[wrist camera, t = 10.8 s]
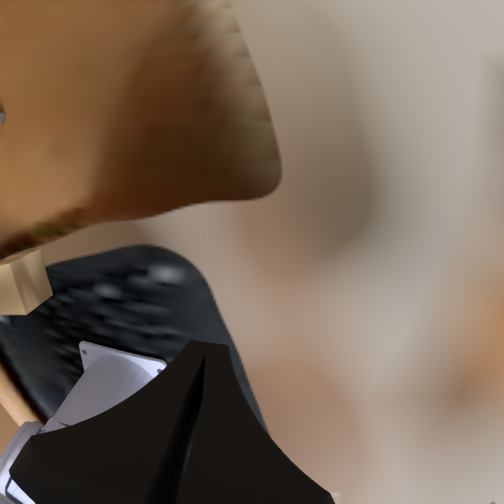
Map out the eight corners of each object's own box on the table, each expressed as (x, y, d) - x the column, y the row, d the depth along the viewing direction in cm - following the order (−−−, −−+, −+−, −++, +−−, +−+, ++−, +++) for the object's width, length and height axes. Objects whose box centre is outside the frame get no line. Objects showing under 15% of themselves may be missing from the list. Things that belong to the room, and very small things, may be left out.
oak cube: (53, 294, 20) (26, 314, 16) (25, 296, 20) (-1, 314, 16) (40, 248, 19) (9, 263, 15) (13, 254, 19) (-16, 268, 15)
